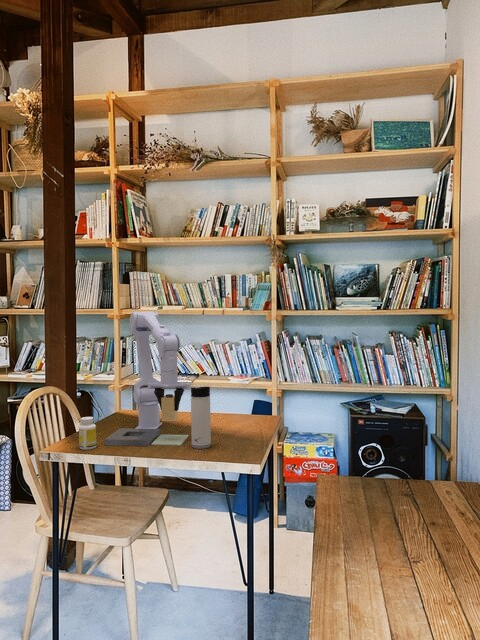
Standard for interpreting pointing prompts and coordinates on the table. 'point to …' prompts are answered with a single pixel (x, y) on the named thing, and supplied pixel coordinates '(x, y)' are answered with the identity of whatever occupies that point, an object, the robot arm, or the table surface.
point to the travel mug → (200, 417)
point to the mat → (170, 440)
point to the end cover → (168, 408)
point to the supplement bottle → (87, 433)
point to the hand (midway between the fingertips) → (169, 410)
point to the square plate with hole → (133, 437)
